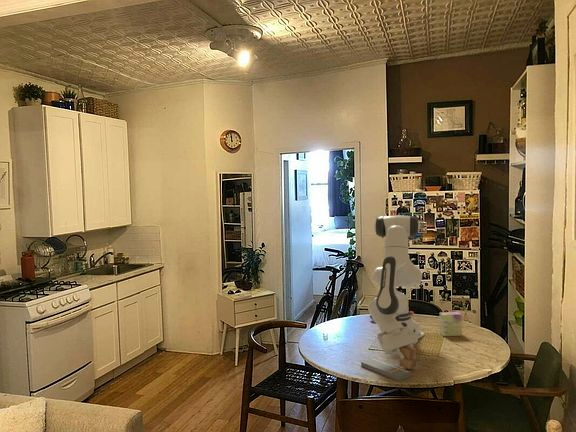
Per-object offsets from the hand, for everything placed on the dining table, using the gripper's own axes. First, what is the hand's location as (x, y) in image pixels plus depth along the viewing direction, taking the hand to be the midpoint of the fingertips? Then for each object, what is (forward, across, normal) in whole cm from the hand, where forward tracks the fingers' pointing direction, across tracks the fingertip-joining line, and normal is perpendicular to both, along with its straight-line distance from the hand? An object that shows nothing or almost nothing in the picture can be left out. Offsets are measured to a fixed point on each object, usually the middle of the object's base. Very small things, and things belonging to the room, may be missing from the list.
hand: (408, 356), depth 205 cm
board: (0, -9, +8) cm, 12 cm away
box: (-8, +56, +17) cm, 59 cm away
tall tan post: (+3, 0, +4) cm, 4 cm away
